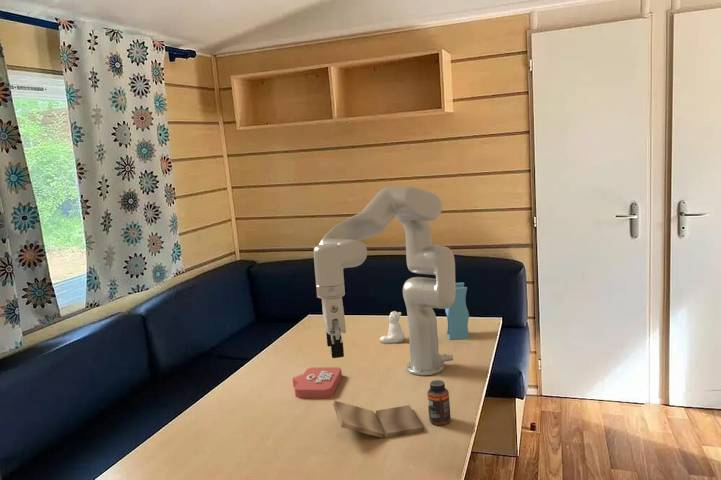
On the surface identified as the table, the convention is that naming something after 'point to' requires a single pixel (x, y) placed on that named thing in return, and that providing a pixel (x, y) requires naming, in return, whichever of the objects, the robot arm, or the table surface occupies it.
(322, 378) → the plaque
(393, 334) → the white creature statuette
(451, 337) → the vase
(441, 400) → the supplement bottle
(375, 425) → the plank
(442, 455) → the table surface
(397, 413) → the brown wooden board
